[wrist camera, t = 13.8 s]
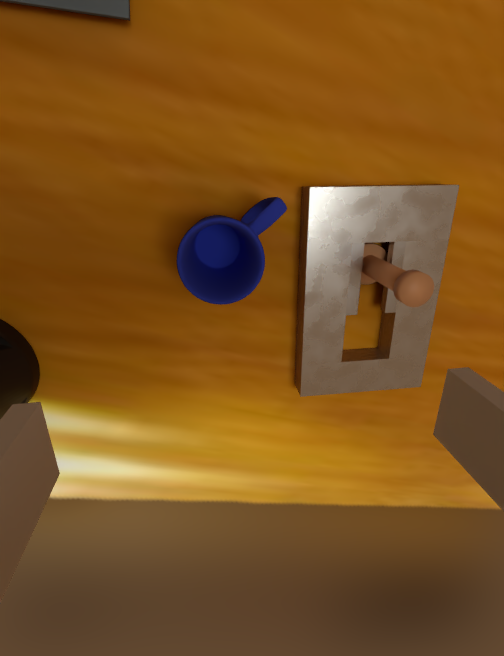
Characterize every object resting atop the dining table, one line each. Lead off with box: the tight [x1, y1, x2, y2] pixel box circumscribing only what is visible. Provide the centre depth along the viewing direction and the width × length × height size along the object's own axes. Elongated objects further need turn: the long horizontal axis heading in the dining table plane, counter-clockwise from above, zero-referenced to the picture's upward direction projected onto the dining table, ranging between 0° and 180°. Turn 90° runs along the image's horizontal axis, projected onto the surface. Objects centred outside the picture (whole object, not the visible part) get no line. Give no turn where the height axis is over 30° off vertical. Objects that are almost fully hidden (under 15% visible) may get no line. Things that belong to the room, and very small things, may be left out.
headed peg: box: [360, 243, 434, 307], centre depth 41 cm, size 5×5×12 cm
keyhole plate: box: [295, 184, 459, 397], centre depth 46 cm, size 26×17×3 cm, turn 1°
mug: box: [177, 197, 287, 304], centre depth 38 cm, size 8×12×10 cm
